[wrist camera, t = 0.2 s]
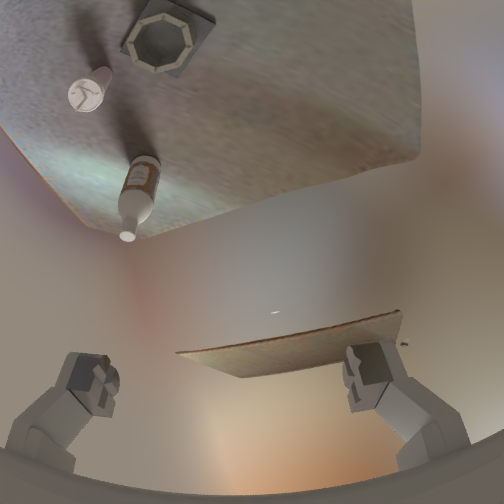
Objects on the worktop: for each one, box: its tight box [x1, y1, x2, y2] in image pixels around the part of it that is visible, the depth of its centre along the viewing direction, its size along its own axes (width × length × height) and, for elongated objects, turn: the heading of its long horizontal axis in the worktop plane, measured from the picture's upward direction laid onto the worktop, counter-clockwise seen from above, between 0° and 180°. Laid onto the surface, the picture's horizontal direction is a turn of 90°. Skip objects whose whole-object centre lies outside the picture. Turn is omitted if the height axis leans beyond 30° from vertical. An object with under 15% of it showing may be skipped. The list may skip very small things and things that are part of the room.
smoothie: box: [68, 66, 113, 112], centre depth 41 cm, size 6×6×14 cm
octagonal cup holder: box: [120, 0, 216, 78], centre depth 39 cm, size 12×12×6 cm
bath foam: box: [118, 156, 161, 242], centre depth 57 cm, size 7×7×20 cm
